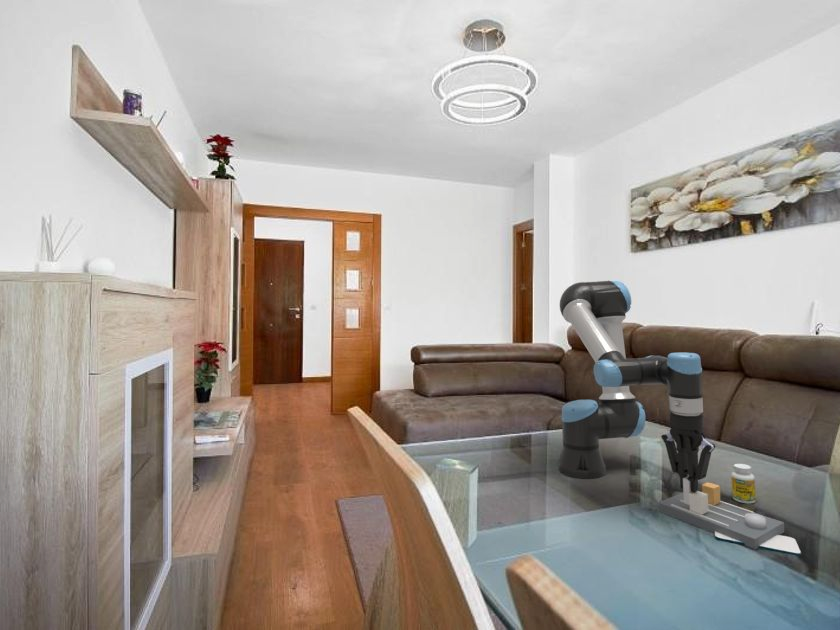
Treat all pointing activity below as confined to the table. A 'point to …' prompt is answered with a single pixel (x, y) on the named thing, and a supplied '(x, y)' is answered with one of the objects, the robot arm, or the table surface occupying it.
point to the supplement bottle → (743, 484)
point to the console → (726, 520)
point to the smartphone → (769, 543)
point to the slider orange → (712, 493)
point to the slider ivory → (698, 502)
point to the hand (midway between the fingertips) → (689, 502)
